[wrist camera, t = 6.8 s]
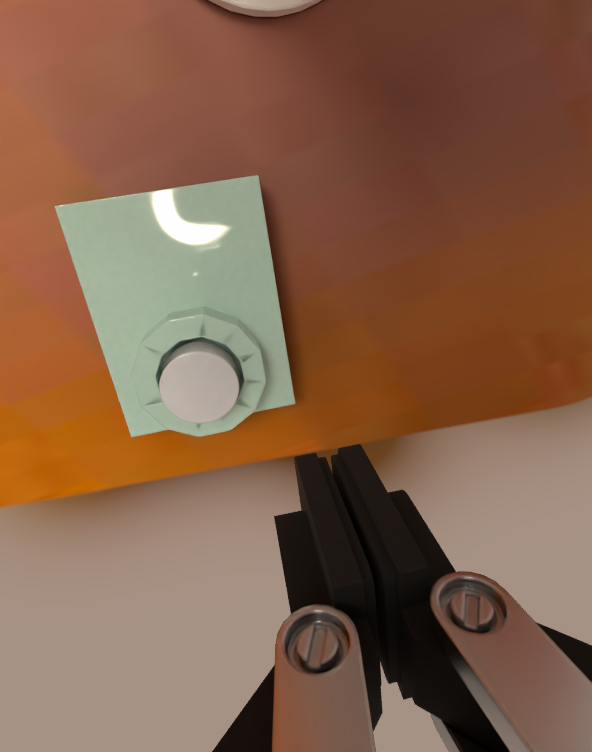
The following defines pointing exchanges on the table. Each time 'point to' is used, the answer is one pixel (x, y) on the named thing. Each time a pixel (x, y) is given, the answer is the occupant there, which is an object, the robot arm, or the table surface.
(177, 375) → the grey push button
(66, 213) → the green push button box
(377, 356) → the table surface
